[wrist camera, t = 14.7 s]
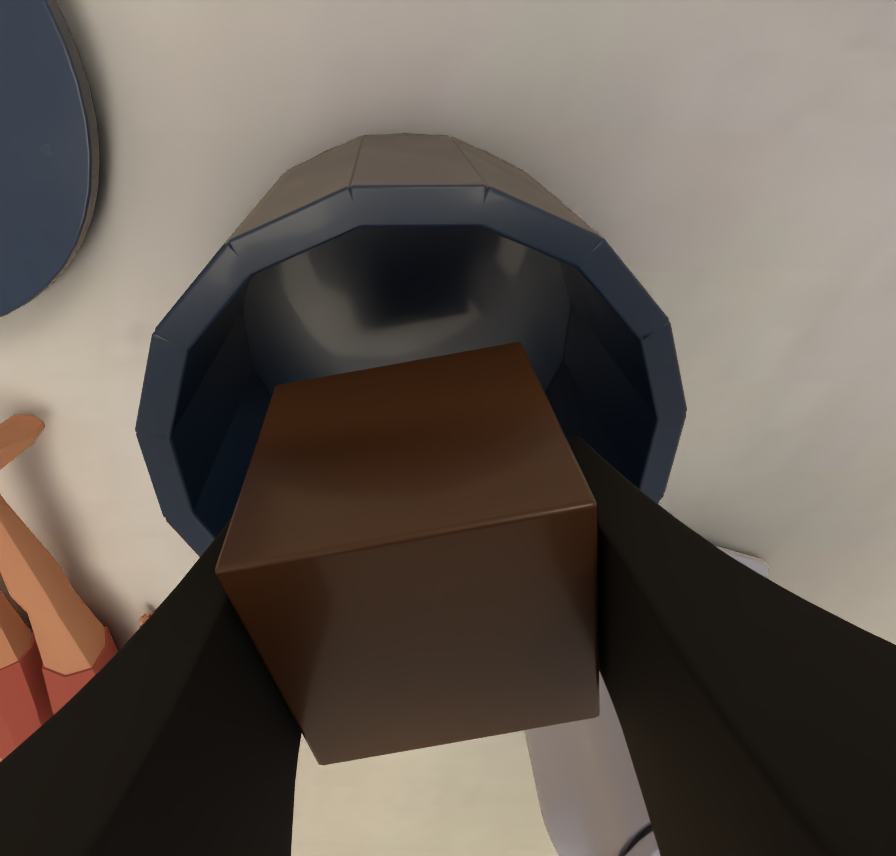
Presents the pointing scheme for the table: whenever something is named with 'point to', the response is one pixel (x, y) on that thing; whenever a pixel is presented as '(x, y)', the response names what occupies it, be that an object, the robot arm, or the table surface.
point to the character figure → (39, 618)
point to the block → (418, 556)
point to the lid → (42, 150)
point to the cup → (401, 314)
